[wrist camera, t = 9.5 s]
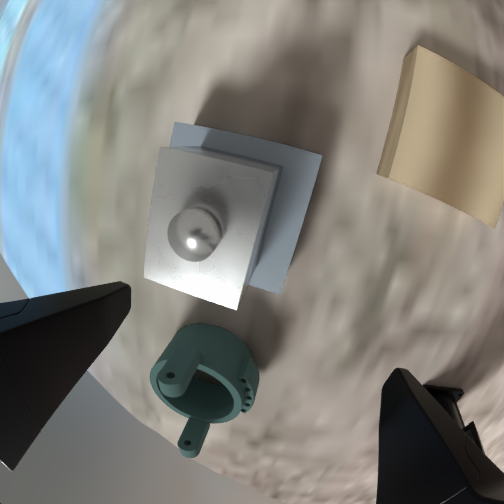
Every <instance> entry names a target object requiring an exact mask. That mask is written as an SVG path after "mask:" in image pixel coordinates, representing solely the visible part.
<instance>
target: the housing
mask: <svg viewBox="0 0 504 504" xmlns="http://www.w3.org/2000/svg"><path fill="white" fill-rule="evenodd" d="M283 167H284V166H281V165H278V164H274V163H270V162H267V161H263V160H259V159H255V158H251V157H247V156H243V155H239V154H235V153H230V152H226V151H222V150H217V149H212V148H208V147H203V146H178V147H160V150H159V156H158V161H157V167H156V173H155V180H154V186H153V193H152V200H151V208H150V216H149V224H148V233H147V243H146V255H145V268H144V277H145V278H147V279H150V280H152V281H155V282H158V283H160V284H163V285H166V286H168V287H171V288H174V289H177V290H179V291H182V292H185V293H188V294H191V295H193V296H196V297H199V298H202V299H205V300H208V301H211V302H214V303H217V304H220V305H223V306H226V307H229V308H232V309H235V310H237V308H238V306H239V304H240V301H241V299H242V297H243V295H244V293H245V291H246V288H247V286H248V284H249V282H250V280H251V277H252V275H253V273H254V271H255V269H256V265H257V262H258V258H259V255H260V251H261V247H262V244H263V240H264V236H265V233H266V229H267V225H268V222H269V218H270V214H271V211H272V207H273V203H274V200H275V196H276V192H277V189H278V185H279V181H280V178H281V174H282V170H283Z"/></svg>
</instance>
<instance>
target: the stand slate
mask: <svg viewBox="0 0 504 504" xmlns="http://www.w3.org/2000/svg"><path fill="white" fill-rule="evenodd" d="M178 146H203V147H208V148H212V149H217V150H222V151H226V152H230V153H235V154H239V155H243V156H247V157H251V158H255V159H259V160H263V161H267V162H270V163H274V164H278V165H281V166H284V167H283V170H282V174H281V178H280V181H279V185H278V189H277V192H276V196H275V200H274V203H273V207H272V211H271V214H270V218H269V222H268V225H267V229H266V233H265V236H264V240H263V244H262V247H261V251H260V255H259V258H258V262H257V265H256V269H255V271H254V273H253V275H252V277H251V280H250V282H249V284H248V285H250V286H254V287H257V288H260V289H263V290H267V291H270V292H273V293H277V294H280V293H281V290H282V287H283V284H284V281H285V277H286V274H287V271H288V268H289V265H290V262H291V259H292V256H293V253H294V250H295V246H296V243H297V240H298V237H299V234H300V230H301V227H302V224H303V221H304V217H305V214H306V211H307V208H308V204H309V201H310V197H311V194H312V191H313V187H314V184H315V180H316V177H317V173H318V170H319V166H320V163H321V159H322V156H323V155H319V154H316V153H313V152H309V151H306V150H303V149H299V148H295V147H292V146H288V145H284V144H281V143H277V142H273V141H269V140H265V139H261V138H256V137H252V136H248V135H243V134H239V133H234V132H229V131H224V130H219V129H214V128H208V127H203V126H197V125H191V124H185V123H178V122H175V123H174V128H173V132H172V137H171V142H170V147H178Z"/></svg>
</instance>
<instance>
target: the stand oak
mask: <svg viewBox="0 0 504 504" xmlns="http://www.w3.org/2000/svg"><path fill="white" fill-rule="evenodd" d="M377 174H378V175H381V176H384V177H386V178H389V179H391V180H394V181H396V182H399V183H401V184H404V185H406V186H409V187H411V188H413V189H416V190H418V191H420V192H423V193H425V194H427V195H429V196H432V197H434V198H436V199H438V200H440V201H443V202H445V203H447V204H449V205H451V206H453V207H455V208H457V209H459V210H461V211H463V212H465V213H467V214H469V215H471V216H473V217H475V218H477V219H479V220H480V221H482V222H484V223H486V224H488V225H490V226H491V227H493V228H495V227H496V224H497V221H498V218H499V215H500V212H501V209H502V206H503V202H504V96H502V95H501V94H500V93H498V92H497V91H495V90H494V89H493V88H491V87H490V86H488V85H487V84H486V83H484V82H483V81H481V80H480V79H478V78H477V77H475V76H473V75H472V74H470V73H469V72H467V71H465V70H464V69H462V68H460V67H459V66H457V65H455V64H454V63H452V62H450V61H448V60H447V59H445V58H443V57H441V56H439V55H437V54H435V53H433V52H431V51H429V50H427V49H425V48H423V47H421V46H419V45H418V46H416V47H415V48H414V49H413V50H412V51H411V52H410V53H409V54H408V55H407V56H406V57H404V61H403V66H402V72H401V77H400V82H399V87H398V92H397V96H396V101H395V105H394V110H393V114H392V118H391V122H390V126H389V130H388V134H387V138H386V142H385V146H384V149H383V153H382V157H381V160H380V164H379V167H378V170H377Z"/></svg>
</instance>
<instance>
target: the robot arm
mask: <svg viewBox="0 0 504 504" xmlns="http://www.w3.org/2000/svg"><path fill="white" fill-rule="evenodd" d="M130 308H131V287H130V285H128V284H126V283H123V282H121V281H118V282H113V283H108V284H102V285H97V286H92V287H87V288H81V289H76V290H71V291H66V292H60V293H55V294H50V295H44V296H39V297H34V298H31V299H29V298H28V299H23V300H18V301H11V302H5V303H0V461H1V462H2V463H3V464H4V465H5V466H6V467H8V468H9V469H10V470H11V471H13V470H14V469H15V467H16V466H17V465H18V463H19V461H20V460H21V458H22V457H23V456H24V454H25V453H26V451H27V450H28V448H29V447H30V445H31V444H32V443H33V441H34V440H35V438H36V437H37V436H38V434H39V432H40V431H41V429H42V428H43V427H44V426H45V424H46V423H47V421H48V420H49V419H50V417H51V416H52V415H53V413H54V412H55V411H56V409H57V408H58V407H59V405H60V404H61V403H62V401H63V400H64V399H65V397H66V396H67V395H68V394H69V392H70V391H71V390H72V388H73V387H74V386H75V384H76V383H77V382H78V381H79V379H80V378H81V377H82V376H83V374H84V373H85V372H86V371H87V369H88V368H89V367H90V366H91V364H92V363H93V362H94V361H95V359H96V358H97V357H98V356H99V354H100V353H101V352H102V351H103V350H104V348H105V347H106V346H107V345H108V343H109V342H110V340H111V339H112V337H113V336H114V334H115V333H116V331H117V330H118V328H119V327H120V325H121V324H122V322H123V321H124V319H125V318H126V316H127V315H128V313H129V311H130ZM463 394H464V392H463V390H462V389H453V388H444V387H436V386H428V385H426V386H422V385H421V384H420V382H419V381H418V380H417V379H416V378H415V377H414V376H413V375H412V374H411V373H410V372H409V371H408V370H407V369H403V368H396V369H394V370H393V372H392V373H391V375H390V376H389V378H388V379H387V380H386V382H385V383H384V385H383V387H382V393H381V408H380V420H379V462H378V485H377V499H376V504H504V473H503V472H502V471H501V470H500V469H499V468H498V467H497V466H496V465H495V464H494V463H493V462H492V461H491V460H490V459H489V458H488V457H487V456H486V455H485V452H484V449H483V446H482V443H481V440H480V437H479V434H478V432H477V429H476V427H475V424H474V422H473V421H472V422H471V423H469V425H467V426H466V427H465V425H464V422H463V420H462V417H461V414H460V411H459V409H458V406H457V401H458V400H459V399H460V398H461V397H462V396H463ZM0 504H1V503H0Z"/></svg>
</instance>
